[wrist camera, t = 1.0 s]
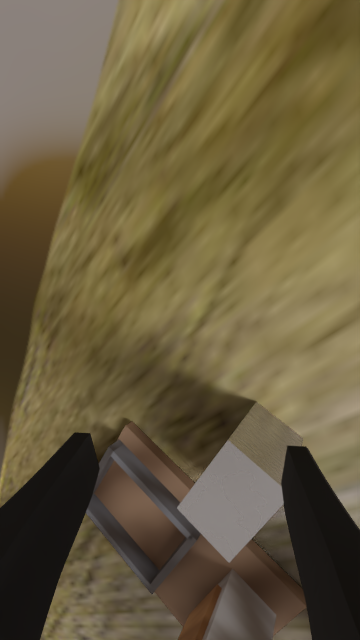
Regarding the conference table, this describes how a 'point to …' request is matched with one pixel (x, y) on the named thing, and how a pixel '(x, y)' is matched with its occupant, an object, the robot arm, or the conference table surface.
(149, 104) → the conference table surface
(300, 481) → the robot arm
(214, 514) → the grey rectangular block
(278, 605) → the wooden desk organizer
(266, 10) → the conference table surface
